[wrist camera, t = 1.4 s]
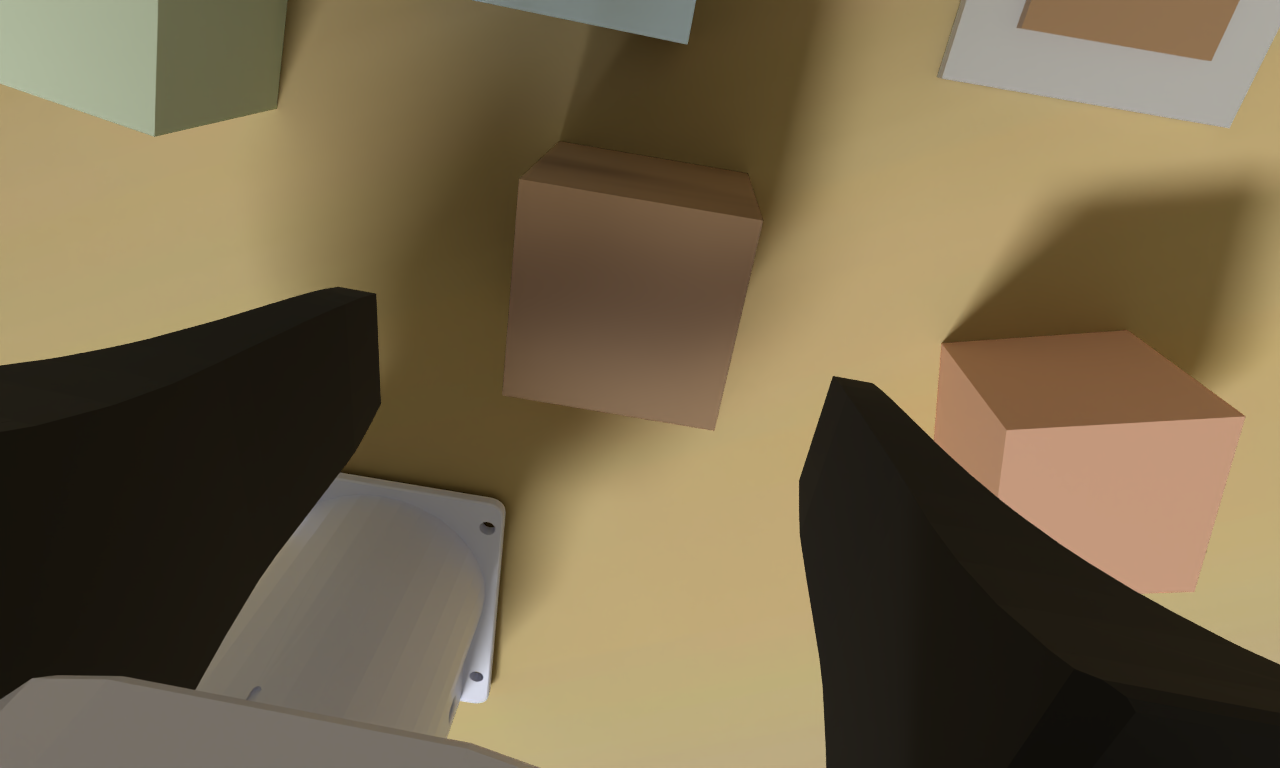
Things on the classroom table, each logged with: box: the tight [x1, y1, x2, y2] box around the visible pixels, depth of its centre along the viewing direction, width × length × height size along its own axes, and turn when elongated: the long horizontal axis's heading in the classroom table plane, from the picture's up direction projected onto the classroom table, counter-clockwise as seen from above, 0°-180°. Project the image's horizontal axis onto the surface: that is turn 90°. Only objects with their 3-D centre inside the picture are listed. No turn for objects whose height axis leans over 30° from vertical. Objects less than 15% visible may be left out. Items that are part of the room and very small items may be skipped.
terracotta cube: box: [934, 330, 1246, 594], centre depth 20 cm, size 5×5×5 cm
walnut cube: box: [502, 141, 763, 431], centre depth 18 cm, size 5×5×5 cm
